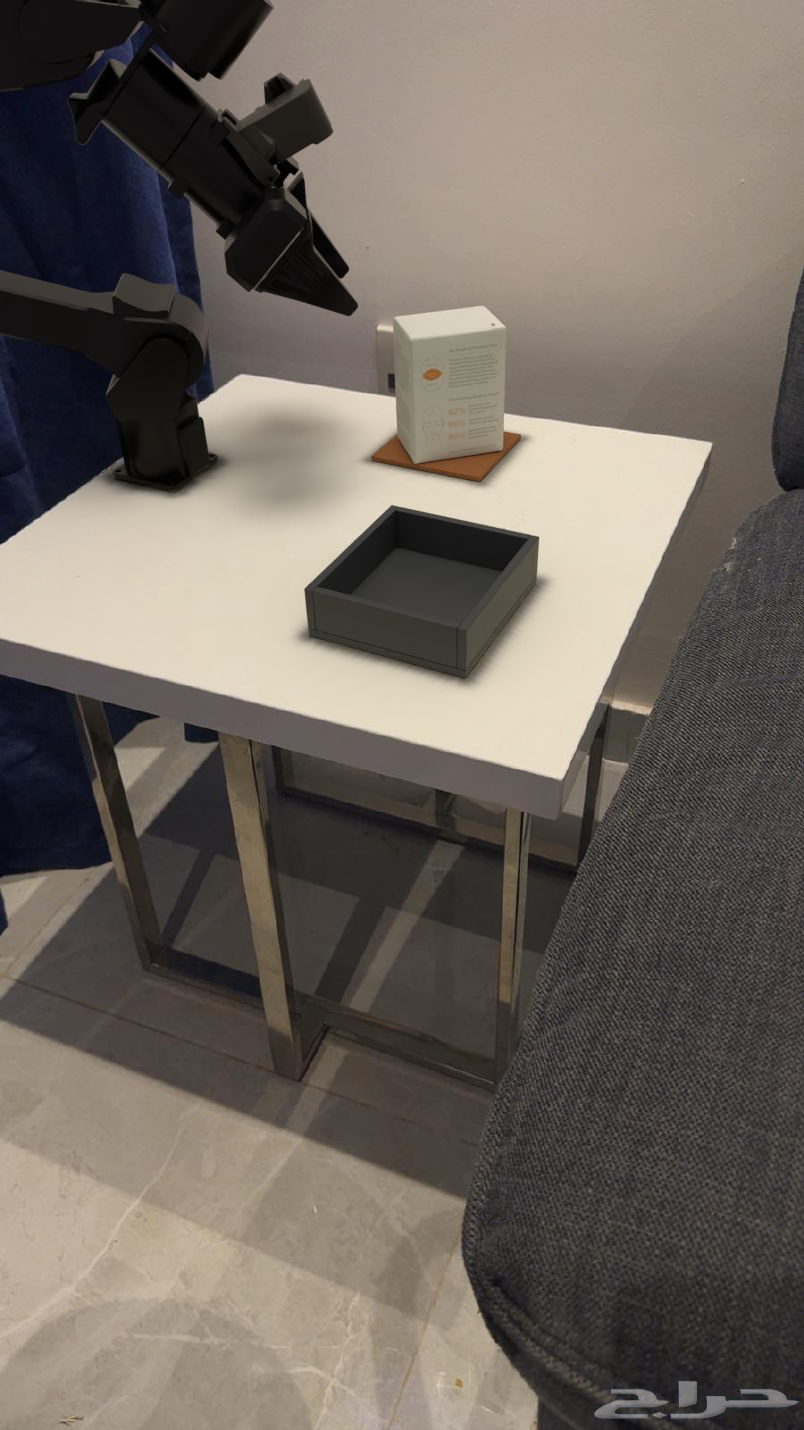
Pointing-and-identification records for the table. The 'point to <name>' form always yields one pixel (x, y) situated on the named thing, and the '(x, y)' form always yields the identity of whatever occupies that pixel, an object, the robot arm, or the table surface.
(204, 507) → the table surface
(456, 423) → the small box
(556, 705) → the table surface
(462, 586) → the bin
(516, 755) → the table surface
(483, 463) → the mat
